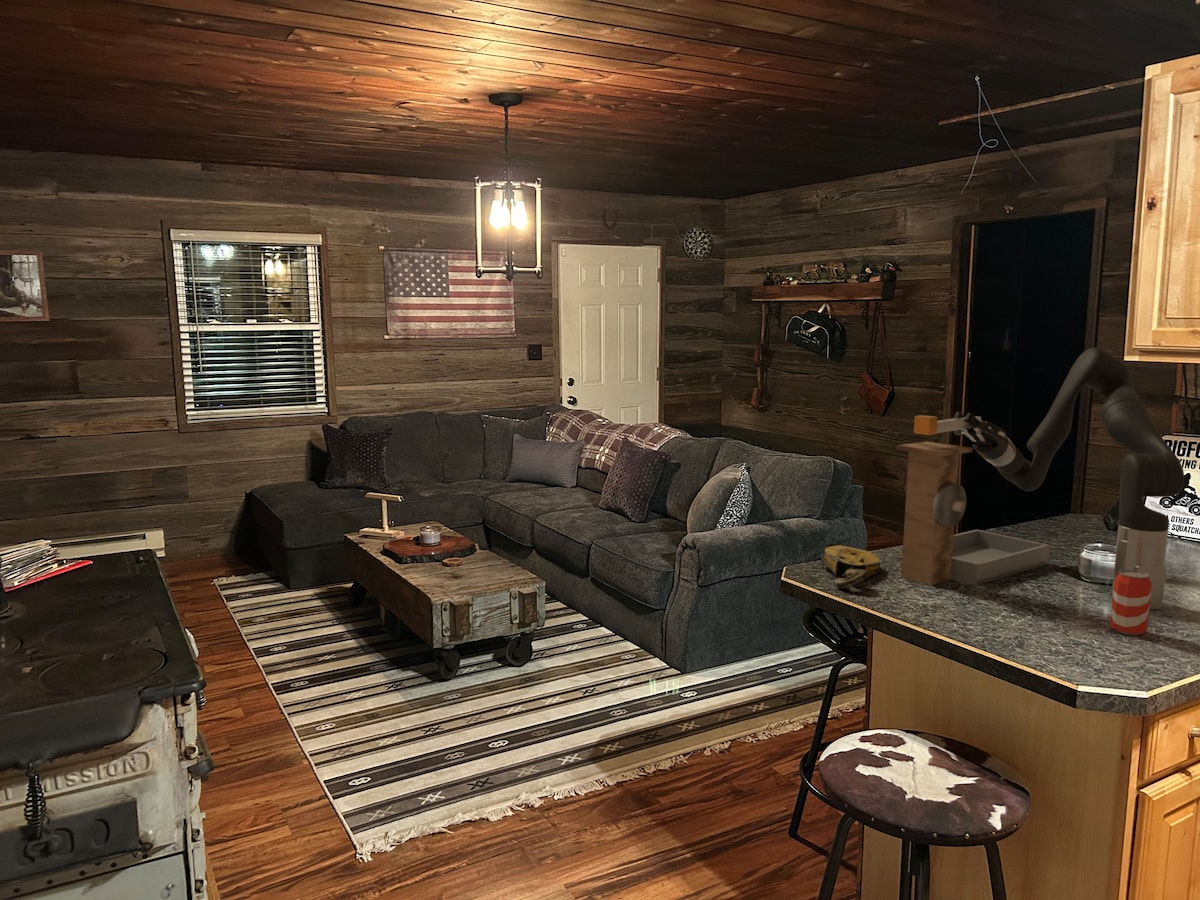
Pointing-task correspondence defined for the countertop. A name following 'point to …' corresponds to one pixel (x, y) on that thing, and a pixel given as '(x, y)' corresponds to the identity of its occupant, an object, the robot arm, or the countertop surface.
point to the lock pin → (938, 424)
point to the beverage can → (1131, 602)
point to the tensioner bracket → (931, 510)
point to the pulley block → (850, 564)
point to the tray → (993, 556)
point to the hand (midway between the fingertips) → (962, 416)
